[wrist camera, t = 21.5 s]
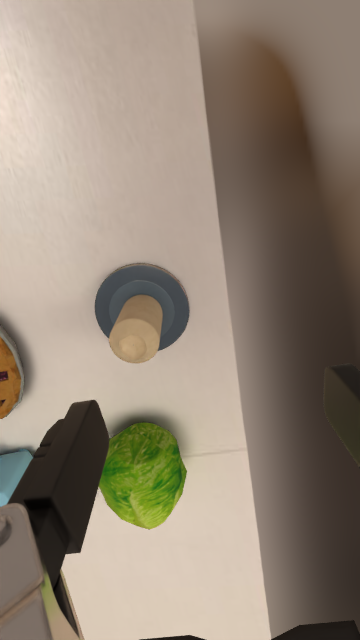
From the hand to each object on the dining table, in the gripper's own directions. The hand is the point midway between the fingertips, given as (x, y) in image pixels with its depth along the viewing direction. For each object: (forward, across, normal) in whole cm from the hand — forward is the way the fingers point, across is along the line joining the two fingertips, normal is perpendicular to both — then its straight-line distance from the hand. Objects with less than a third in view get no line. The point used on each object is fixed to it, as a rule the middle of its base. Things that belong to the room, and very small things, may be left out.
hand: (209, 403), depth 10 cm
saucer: (+30, +7, +7) cm, 32 cm away
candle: (+29, +7, +7) cm, 30 cm away
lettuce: (+30, +13, +34) cm, 47 cm away
